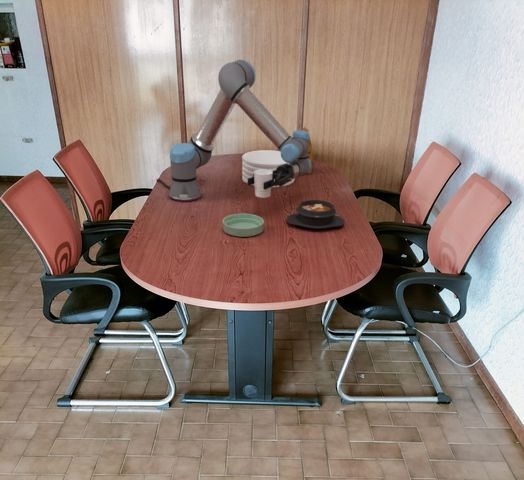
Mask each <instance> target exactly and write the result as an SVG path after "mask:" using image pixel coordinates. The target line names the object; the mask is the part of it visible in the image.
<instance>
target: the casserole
mask: <svg viewBox="0 0 524 480" xmlns="http://www.w3.org/2000/svg"><path fill="white" fill-rule="evenodd" d="M296 212H297V213H292V214H290V215H288V216H287V217H286V221H287V223H288V224H290V225H293V226H299V227H302V228H303V227H304V228H308V229H313V230H314V229H315V230H322V229H329V228H336V227H341V226H344V224H345V219H344V218H343V217H341V216H339V215H336V213H337V210H336V208H335V205H334V204H333V203H331V202H329V201H326V200H320V199H307V200H304V201H301V202H300V203H299V204H298V206H297V207H296Z"/></svg>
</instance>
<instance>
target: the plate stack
mask: <svg viewBox="0 0 524 480" xmlns="http://www.w3.org/2000/svg"><path fill="white" fill-rule="evenodd" d="M241 159H242V160H241V165H242V166H241V169H242V171H241V175H242V178H241V180H242V181H243V182H244V183H245V184H247V185H248V178H251V177H253V174H254V171H255V170H259V169H269V170H271V171H274V170H276V169H277V167H278V166H280V165H282V164H285V163H287V162H285V161H284V160H283V159H282V157H281V152H280V151H279V150H273V149H260V150H259V149H257V150H252V151H248V152H246V153H244V154H242V156H241ZM295 180H296V178H294V179H292V181H291V182H288V183H286V184H284V185H283V186H281V187H280V186H279V185H277V186H273V187H272V188H282V187H286V186H289V185H292V184H293V183H294V182H295ZM274 181H275V179H274ZM251 186H254V187H255V185H254V184H252V185H251Z"/></svg>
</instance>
